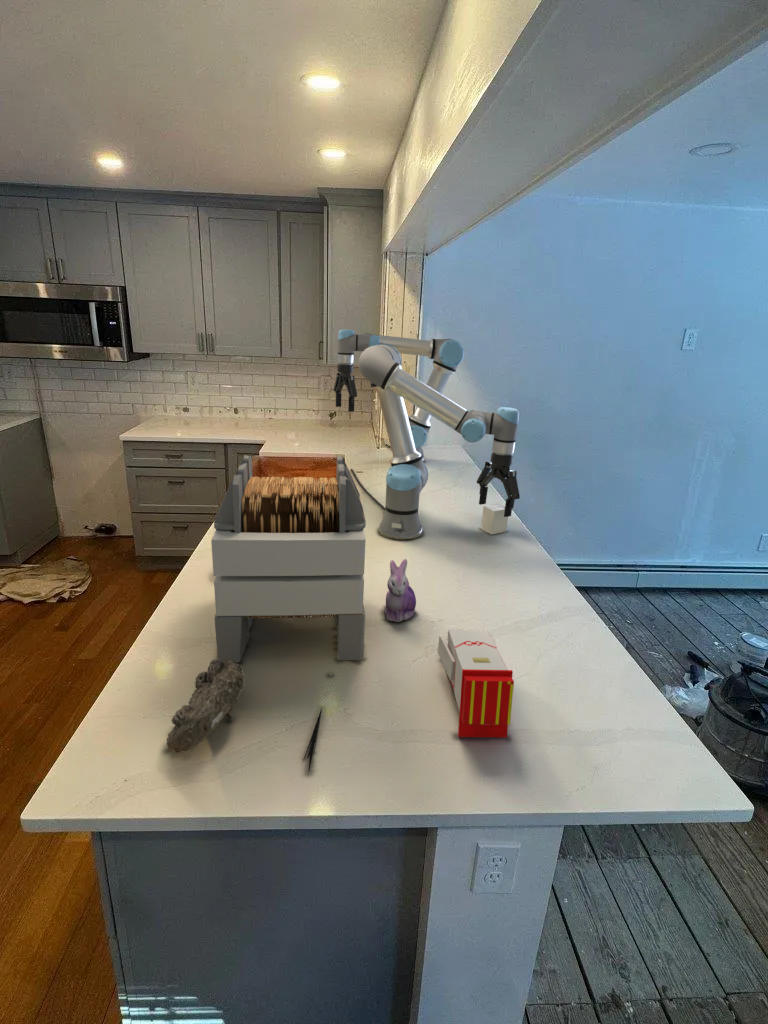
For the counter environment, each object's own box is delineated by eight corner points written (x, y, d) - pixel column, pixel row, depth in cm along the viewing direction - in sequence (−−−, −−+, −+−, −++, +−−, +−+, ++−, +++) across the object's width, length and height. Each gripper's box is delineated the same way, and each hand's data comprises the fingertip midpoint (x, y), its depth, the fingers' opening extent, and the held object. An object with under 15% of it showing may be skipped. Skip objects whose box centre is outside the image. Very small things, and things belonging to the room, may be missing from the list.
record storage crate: (236, 591, 155) (228, 445, 141) (355, 589, 159) (359, 447, 145) (214, 665, 123) (202, 486, 109) (364, 661, 127) (370, 487, 113)
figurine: (392, 627, 141) (395, 572, 136) (374, 608, 149) (376, 556, 144) (425, 619, 145) (429, 566, 140) (405, 601, 154) (408, 550, 149)
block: (491, 534, 203) (494, 511, 200) (480, 529, 208) (483, 506, 205) (506, 531, 207) (509, 508, 204) (495, 526, 211) (498, 503, 208)
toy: (488, 613, 130) (523, 677, 101) (484, 667, 133) (517, 744, 104) (435, 612, 130) (455, 676, 101) (432, 666, 133) (451, 743, 103)
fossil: (192, 660, 117) (244, 628, 112) (224, 691, 120) (276, 661, 115) (142, 746, 98) (202, 712, 93) (182, 779, 101) (242, 748, 96)
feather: (331, 679, 122) (336, 673, 122) (307, 777, 96) (313, 769, 95) (324, 675, 122) (329, 669, 121) (298, 772, 95) (304, 764, 95)
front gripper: (536, 461, 189) (526, 520, 196) (487, 443, 209) (480, 498, 216) (519, 462, 185) (510, 523, 193) (471, 445, 205) (464, 500, 213)
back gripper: (365, 366, 259) (363, 412, 266) (340, 361, 279) (340, 404, 286) (350, 366, 255) (349, 413, 262) (327, 361, 275) (326, 405, 282)
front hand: (494, 510), depth 205 cm, fingers open, 13 cm apart
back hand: (344, 409), depth 274 cm, fingers open, 13 cm apart
